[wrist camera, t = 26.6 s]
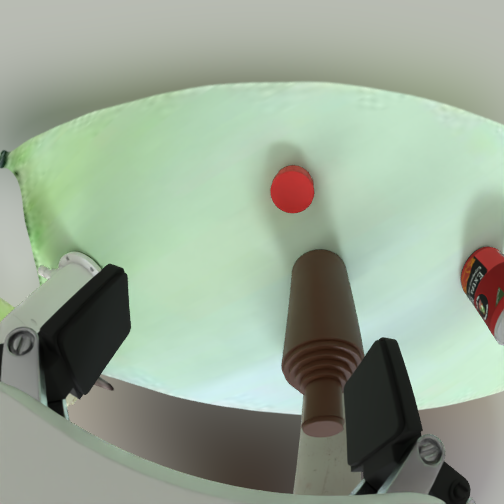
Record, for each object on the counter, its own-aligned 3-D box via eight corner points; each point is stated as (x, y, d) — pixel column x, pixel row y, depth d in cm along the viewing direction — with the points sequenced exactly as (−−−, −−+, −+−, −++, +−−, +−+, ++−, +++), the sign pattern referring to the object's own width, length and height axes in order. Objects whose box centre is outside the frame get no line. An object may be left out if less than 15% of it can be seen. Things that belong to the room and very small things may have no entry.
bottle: (285, 289, 33) (261, 439, 15) (301, 242, 30) (291, 397, 12) (334, 302, 32) (344, 450, 15) (354, 258, 29) (393, 410, 12)
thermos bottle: (328, 394, 41) (319, 548, 16) (294, 377, 40) (268, 547, 15) (364, 372, 37) (372, 543, 12) (329, 351, 36) (322, 548, 11)
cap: (320, 181, 26) (323, 189, 23) (296, 209, 28) (295, 221, 25) (289, 157, 26) (288, 161, 23) (266, 186, 28) (261, 195, 24)
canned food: (460, 251, 26) (505, 302, 16) (502, 238, 24) (549, 280, 14) (456, 300, 29) (489, 355, 19) (496, 286, 27) (532, 333, 17)
